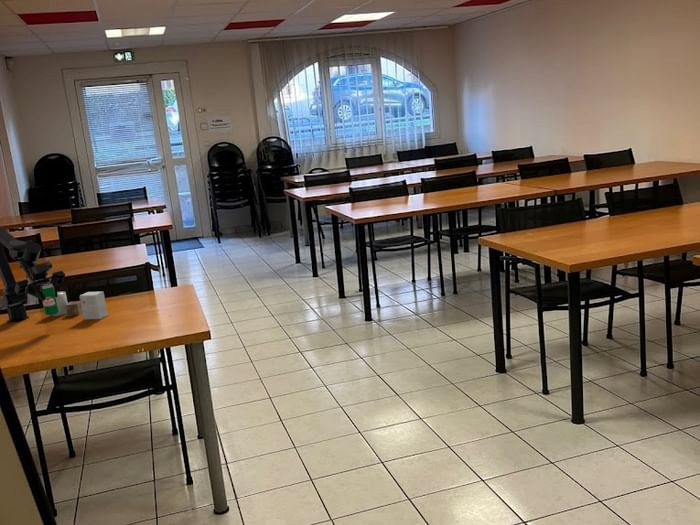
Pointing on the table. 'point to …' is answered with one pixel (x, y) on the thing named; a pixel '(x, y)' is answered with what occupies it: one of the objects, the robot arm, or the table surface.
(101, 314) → the small box
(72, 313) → the walnut block
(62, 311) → the sage mug
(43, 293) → the soda can
